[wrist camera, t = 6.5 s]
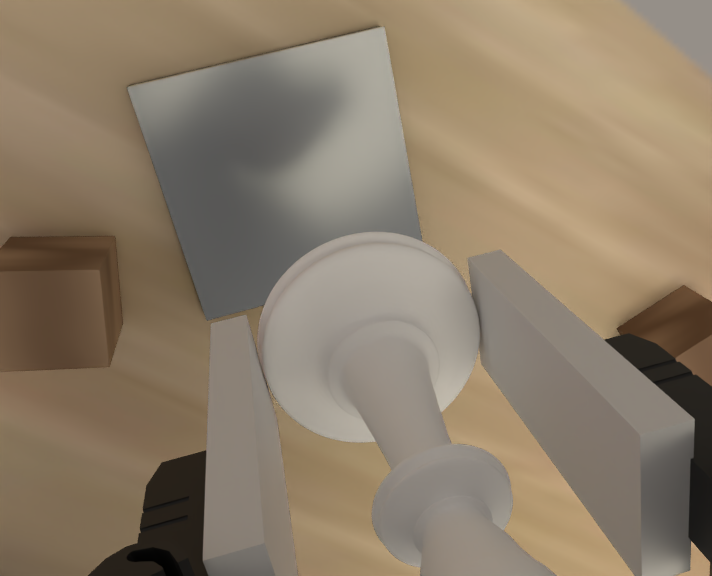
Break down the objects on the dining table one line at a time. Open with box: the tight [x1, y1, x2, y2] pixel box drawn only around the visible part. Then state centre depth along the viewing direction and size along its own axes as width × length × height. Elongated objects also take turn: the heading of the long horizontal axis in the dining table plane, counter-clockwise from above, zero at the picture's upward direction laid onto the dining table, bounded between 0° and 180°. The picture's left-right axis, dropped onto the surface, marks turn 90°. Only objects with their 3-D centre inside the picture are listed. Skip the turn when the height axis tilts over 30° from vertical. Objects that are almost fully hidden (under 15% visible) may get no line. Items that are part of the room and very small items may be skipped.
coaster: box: [127, 26, 422, 321], centre depth 27 cm, size 10×10×1 cm
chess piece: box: [257, 232, 556, 576], centre depth 10 cm, size 5×5×10 cm
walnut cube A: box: [617, 285, 712, 386], centre depth 33 cm, size 4×4×4 cm
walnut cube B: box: [0, 236, 123, 372], centre depth 26 cm, size 4×4×4 cm
